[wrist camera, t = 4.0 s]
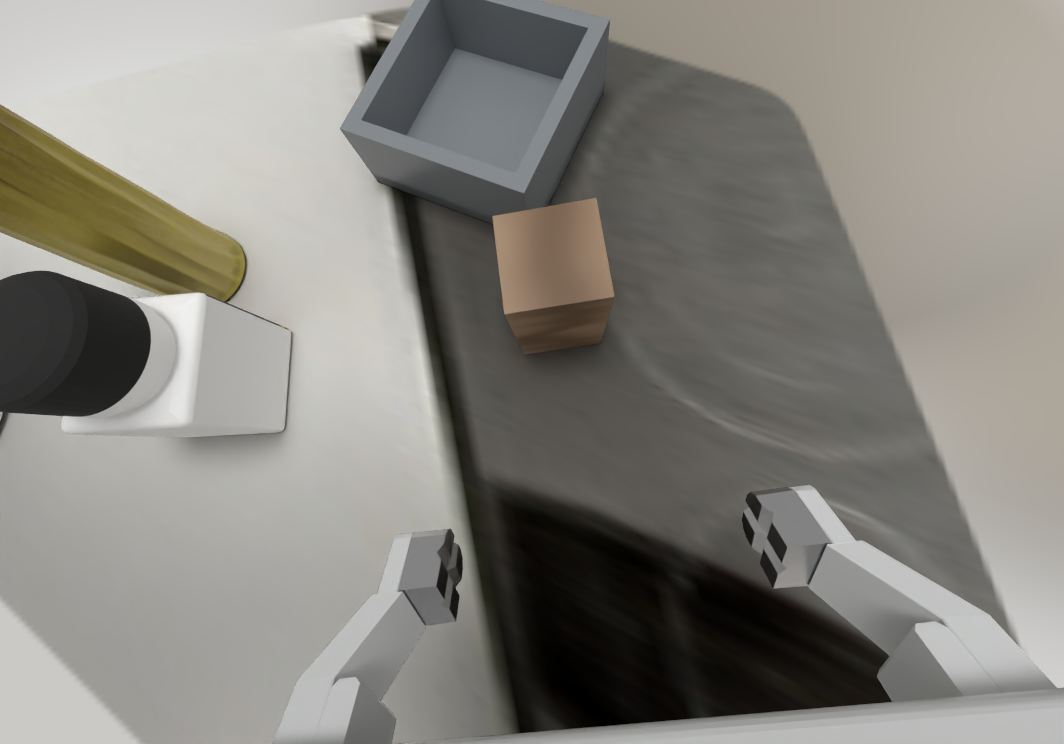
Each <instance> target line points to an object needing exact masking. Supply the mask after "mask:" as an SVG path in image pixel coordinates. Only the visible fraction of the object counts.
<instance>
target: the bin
mask: <svg viewBox="0 0 1064 744" xmlns="http://www.w3.org/2000/svg"><path fill="white" fill-rule="evenodd" d="M609 26H610V19H608V18H604V17H600V16H596V15H592V14H588V13H584V12H581V11H577V10H573V9H569V8H566V7H562V6H557V5H554V4H550V3H547V2H543V1H539V0H415V1H414V2H413V4H412V6H411V7H410V9H409V11H408V12H407V14H406V16H405V18H404V19H403V21H402V23H401V24H400V26H399V28H398V30H397V31H396V33H395V35H394V36H393V38H392V40H391V42H390V43H389V45H388V47H387V48H386V50H385V52H384V54H383V55H382V57H381V59H380V60H379V62H378V64H377V66H376V67H375V69H374V71H373V72H372V74H371V76H370V78H369V79H368V81H367V83H366V84H365V86H364V88H363V90H362V91H361V93H360V95H359V96H358V98H357V100H356V102H355V103H354V105H353V107H352V108H351V110H350V112H349V114H348V115H347V117H346V119H345V120H344V122H343V124H342V126H341V127H340V130H341V131H342V132H343V134H344V135H345V137H346V138H347V139H348V141H349V142H350V144H351V145H352V146H353V148H354V149H355V150H356V152H357V153H358V155H359V156H360V157H361V159H362V160H363V162H364V163H365V164H366V166H367V167H368V168H369V170H370V171H371V173H372V174H373V175H374V177H375V178H376V180H377V181H378V182H380V183H383V184H385V185H388V186H391V187H393V188H396V189H399V190H401V191H404V192H407V193H409V194H412V195H415V196H418V197H420V198H423V199H426V200H428V201H431V202H434V203H436V204H439V205H442V206H444V207H447V208H450V209H453V210H455V211H458V212H461V213H463V214H466V215H469V216H471V217H474V218H477V219H480V220H482V221H485V222H488V223H490V224H493V217H492V216H496V215H502V214H507V213H513V212H519V211H524V210H530V209H536V208H541V207H547V206H548V205H549V203H550V201H551V199H552V197H553V195H554V193H555V191H556V189H557V187H558V185H559V183H560V181H561V178H562V176H563V174H564V172H565V170H566V168H567V166H568V164H569V162H570V160H571V158H572V156H573V154H574V151H575V149H576V147H577V145H578V143H579V141H580V139H581V137H582V135H583V133H584V131H585V129H586V127H587V125H588V122H589V120H590V118H591V116H592V114H593V112H594V110H595V108H596V106H597V104H598V102H599V100H600V98H601V95H602V93H603V90H604V79H605V69H606V58H607V47H608V36H609Z"/></svg>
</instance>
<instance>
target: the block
mask: <svg viewBox="0 0 1064 744" xmlns="http://www.w3.org/2000/svg"><path fill="white" fill-rule="evenodd" d="M492 217H493V225H494V233H495V241H496V249H497V258H498V266H499V274H500V282H501V290H502V298H503V306H504V314H505V316H506V318H507V320H508V322H509V324H510V326H511V329H512V331H513V333H514V335H515V337H516V339H517V341H518V343H519V345H520V347H521V349H522V351H523V353H524V355H526V354H533V353H539V352H546V351H553V350H559V349H566V348H572V347H579V346H586V345H592V344H599V343H601V341H602V338H603V334H604V331H605V327H606V324H607V321H608V317H609V314H610V310H611V307H612V304H613V300H614V291H613V286H612V280H611V275H610V270H609V264H608V259H607V253H606V248H605V242H604V237H603V232H602V226H601V221H600V215H599V210H598V204H597V199H596V198H593V199H587V200H581V201H576V202H570V203H564V204H559V205H553V206H547V207H541V208H536V209H530V210H524V211H519V212H513V213H507V214H502V215H496V216H492Z"/></svg>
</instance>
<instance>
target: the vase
mask: <svg viewBox="0 0 1064 744" xmlns="http://www.w3.org/2000/svg"><path fill="white" fill-rule="evenodd" d="M0 232H1V233H4V234H6V235H9V236H11V237H13V238H16V239H18V240H21V241H23V242H26V243H28V244H31V245H33V246H36V247H38V248H41V249H43V250H46V251H48V252H51V253H53V254H56V255H58V256H61V257H63V258H66V259H68V260H71V261H73V262H76V263H78V264H81V265H83V266H86V267H88V268H91V269H93V270H96V271H98V272H100V273H103V274H105V275H108V276H110V277H113V278H115V279H118V280H121V281H123V282H126V283H129V284H131V285H134V286H136V287H139V288H142V289H145V290H148V291H151V292H154V293H157V294H160V295H162V296H164V295H175V294H187V293H204V294H207V295H209V296H212V297H214V298H216V299H219V300H221V301H223V302H225V301H226V300H227V299H228V298H230V297H231V296H232V295H233V293H234V292H235V291H236V290H237V288H238V287H239V285H240V283H241V281H242V278H243V275H244V271H245V258H244V254H243V251H242V249H241V247H240V245H239V244H238V243H237V242H236V241H235V240H234V239H233V238H231V237H230V236H228V235H226V234H224V233H222V232H219V231H217V230H215V229H213V228H210V227H208V226H206V225H204V224H202V223H201V222H199V221H197V220H195V219H193V218H192V217H190V216H188V215H186V214H185V213H183V212H181V211H180V210H178V209H176V208H175V207H173V206H171V205H170V204H168V203H167V202H165V201H163V200H162V199H160V198H158V197H157V196H155V195H153V194H152V193H150V192H148V191H146V190H145V189H143V188H141V187H139V186H138V185H136V184H134V183H132V182H131V181H129V180H127V179H126V178H124V177H122V176H120V175H119V174H117V173H115V172H113V171H112V170H110V169H108V168H106V167H105V166H103V165H101V164H99V163H98V162H96V161H94V160H92V159H90V158H88V157H87V156H85V155H83V154H81V153H80V152H78V151H77V150H75V149H73V148H72V147H70V146H68V145H67V144H65V143H64V142H62V141H61V140H59V139H57V138H56V137H54V136H52V135H51V134H49V133H47V132H46V131H44V130H42V129H41V128H39V127H37V126H36V125H34V124H32V123H31V122H29V121H27V120H26V119H24V118H22V117H20V116H19V115H17V114H15V113H14V112H12V111H10V110H9V109H7V108H5V107H4V106H2V105H0Z"/></svg>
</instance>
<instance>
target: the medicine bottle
mask: <svg viewBox="0 0 1064 744" xmlns="http://www.w3.org/2000/svg"><path fill="white" fill-rule="evenodd" d="M290 347H291V331H290V330H289V329H287V328H285V327H283V326H280V325H278V324H275V323H273V322H271V321H268V320H266V319H264V318H261V317H259V316H256V315H254V314H252V313H249V312H247V311H245V310H242V309H240V308H238V307H235V306H233V305H230V304H228V303H226V302H223V301H221V300H219V299H216V298H214V297H212V296H209V295H207V294H204V293H187V294H175V295H164V296H153V297H141V298H128V297H125V296H122V295H120V294H117V293H114V292H111V291H108V290H105V289H102V288H99V287H96V286H93V285H90V284H87V283H84V282H81V281H78V280H76V279H73V278H70V277H67V276H64V275H61V274H58V273H54V272H50V271H32V272H26V273H21V274H16V275H12V276H9V277H7V278H4V279H2V280H0V412H9V413H24V414H40V415H56V416H62V421H61V430H62V431H63V432H64V433H68V434H84V435H120V436H156V437H204V436H222V435H240V434H258V433H276V432H281V431H283V430H284V427H285V416H286V402H287V388H288V375H289V361H290Z"/></svg>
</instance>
